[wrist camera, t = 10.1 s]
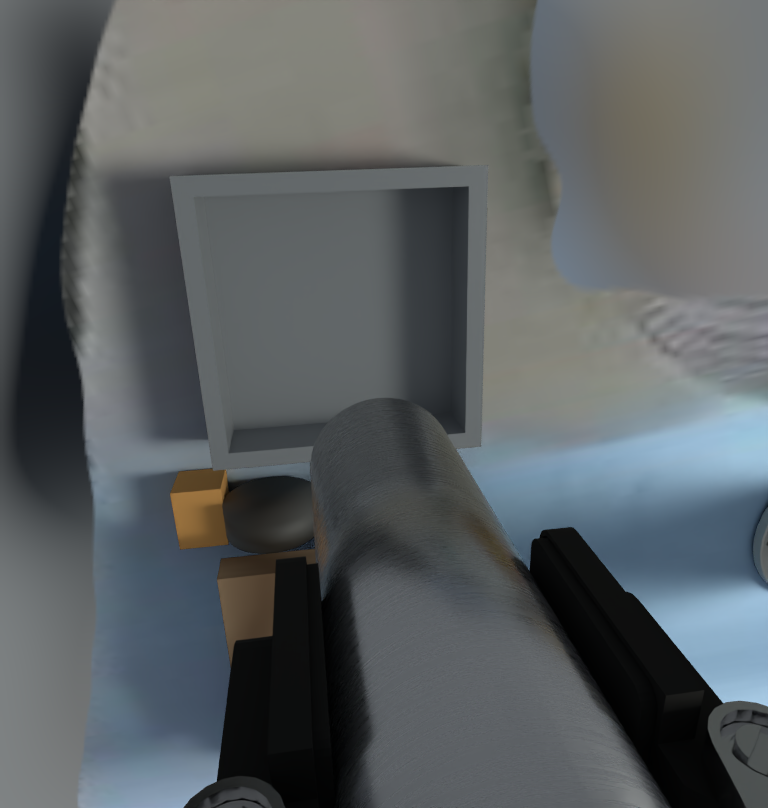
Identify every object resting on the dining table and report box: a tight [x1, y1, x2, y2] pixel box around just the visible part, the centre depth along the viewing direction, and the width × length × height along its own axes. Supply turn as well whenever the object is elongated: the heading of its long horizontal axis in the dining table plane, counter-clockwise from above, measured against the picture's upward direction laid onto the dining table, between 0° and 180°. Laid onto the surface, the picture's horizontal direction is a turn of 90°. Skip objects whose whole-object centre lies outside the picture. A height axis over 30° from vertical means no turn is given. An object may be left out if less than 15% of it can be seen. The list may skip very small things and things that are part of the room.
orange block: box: [170, 469, 229, 550], centre depth 39 cm, size 3×4×3 cm
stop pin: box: [310, 398, 672, 808], centre depth 11 cm, size 4×4×12 cm
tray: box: [169, 165, 488, 471], centre depth 35 cm, size 16×16×4 cm
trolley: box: [217, 476, 316, 666], centre depth 37 cm, size 16×24×19 cm, turn 2°
